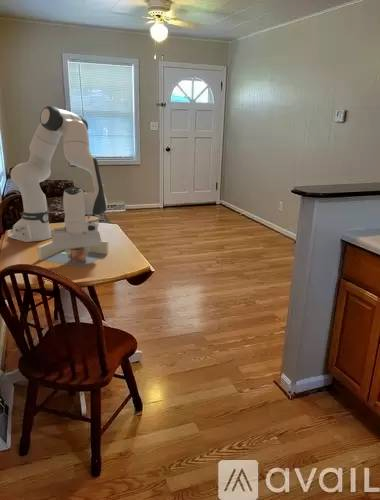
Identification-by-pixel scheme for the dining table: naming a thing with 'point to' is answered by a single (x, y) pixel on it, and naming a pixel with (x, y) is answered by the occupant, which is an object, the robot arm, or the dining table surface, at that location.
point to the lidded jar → (92, 219)
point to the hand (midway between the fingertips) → (78, 256)
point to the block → (78, 255)
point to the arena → (61, 256)
